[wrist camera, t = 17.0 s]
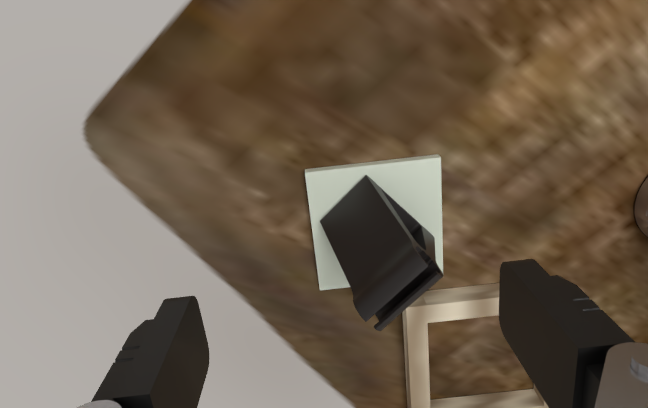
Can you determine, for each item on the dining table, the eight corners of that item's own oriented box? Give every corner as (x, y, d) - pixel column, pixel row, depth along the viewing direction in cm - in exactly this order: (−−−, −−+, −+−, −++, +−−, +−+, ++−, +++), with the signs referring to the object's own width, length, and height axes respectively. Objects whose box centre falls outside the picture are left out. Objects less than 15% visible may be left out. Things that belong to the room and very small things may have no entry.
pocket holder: (560, 276, 47) (573, 289, 45) (550, 400, 53) (561, 418, 51) (401, 293, 47) (405, 307, 45) (408, 416, 53) (412, 434, 51)
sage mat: (437, 154, 42) (440, 157, 41) (440, 271, 47) (443, 276, 46) (304, 169, 42) (304, 172, 41) (319, 285, 47) (319, 290, 46)
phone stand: (433, 236, 44) (476, 308, 33) (387, 277, 45) (413, 360, 34) (366, 173, 42) (387, 228, 30) (319, 219, 43) (323, 287, 32)
